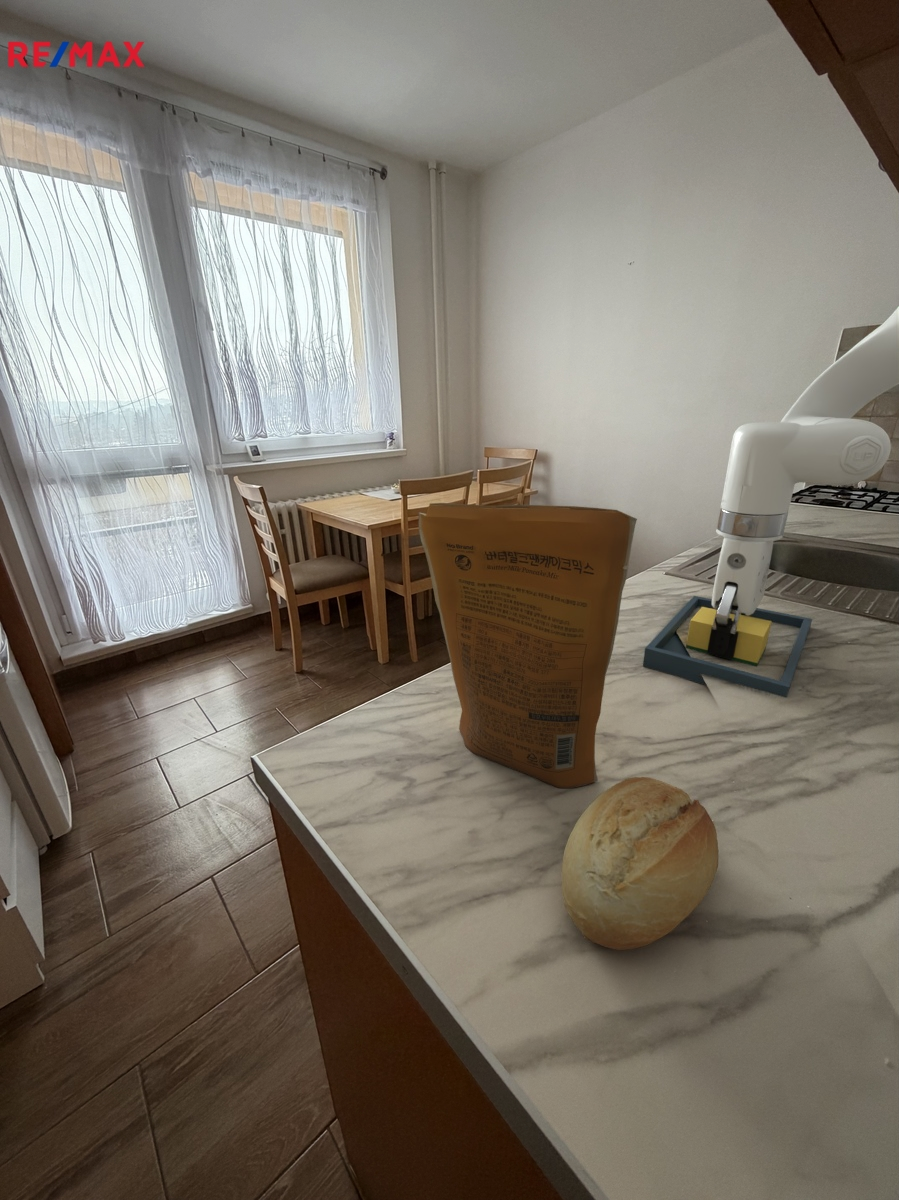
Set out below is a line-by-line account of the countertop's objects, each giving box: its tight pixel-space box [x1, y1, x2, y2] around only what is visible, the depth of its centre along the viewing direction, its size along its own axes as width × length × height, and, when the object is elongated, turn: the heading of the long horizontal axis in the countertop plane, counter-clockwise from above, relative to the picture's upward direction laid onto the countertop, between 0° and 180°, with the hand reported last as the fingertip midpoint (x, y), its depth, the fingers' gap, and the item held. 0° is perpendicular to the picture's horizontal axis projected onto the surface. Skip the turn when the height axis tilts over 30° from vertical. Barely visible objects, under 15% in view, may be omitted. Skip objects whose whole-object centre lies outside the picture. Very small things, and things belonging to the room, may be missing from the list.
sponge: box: [685, 607, 773, 667], centre depth 69 cm, size 6×9×5 cm, turn 50°
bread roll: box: [561, 776, 719, 951], centre depth 37 cm, size 10×15×8 cm, turn 135°
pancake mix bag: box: [418, 502, 638, 789], centre depth 47 cm, size 7×19×28 cm, turn 56°
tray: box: [642, 595, 813, 698], centre depth 72 cm, size 24×17×3 cm
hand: (726, 645), depth 69 cm, fingers closed on sponge, 6 cm apart
